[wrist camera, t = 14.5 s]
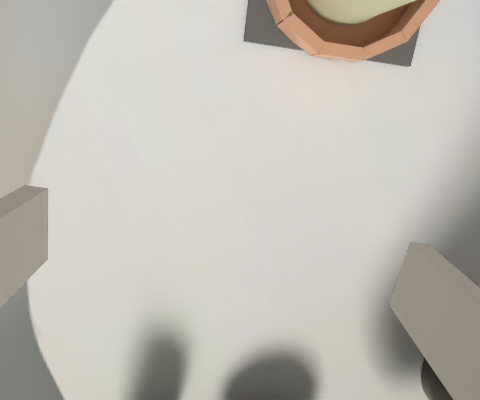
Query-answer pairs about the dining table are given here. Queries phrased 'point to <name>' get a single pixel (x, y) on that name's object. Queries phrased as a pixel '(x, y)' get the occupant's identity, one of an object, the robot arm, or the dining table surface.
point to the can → (352, 10)
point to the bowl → (348, 29)
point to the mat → (267, 33)
